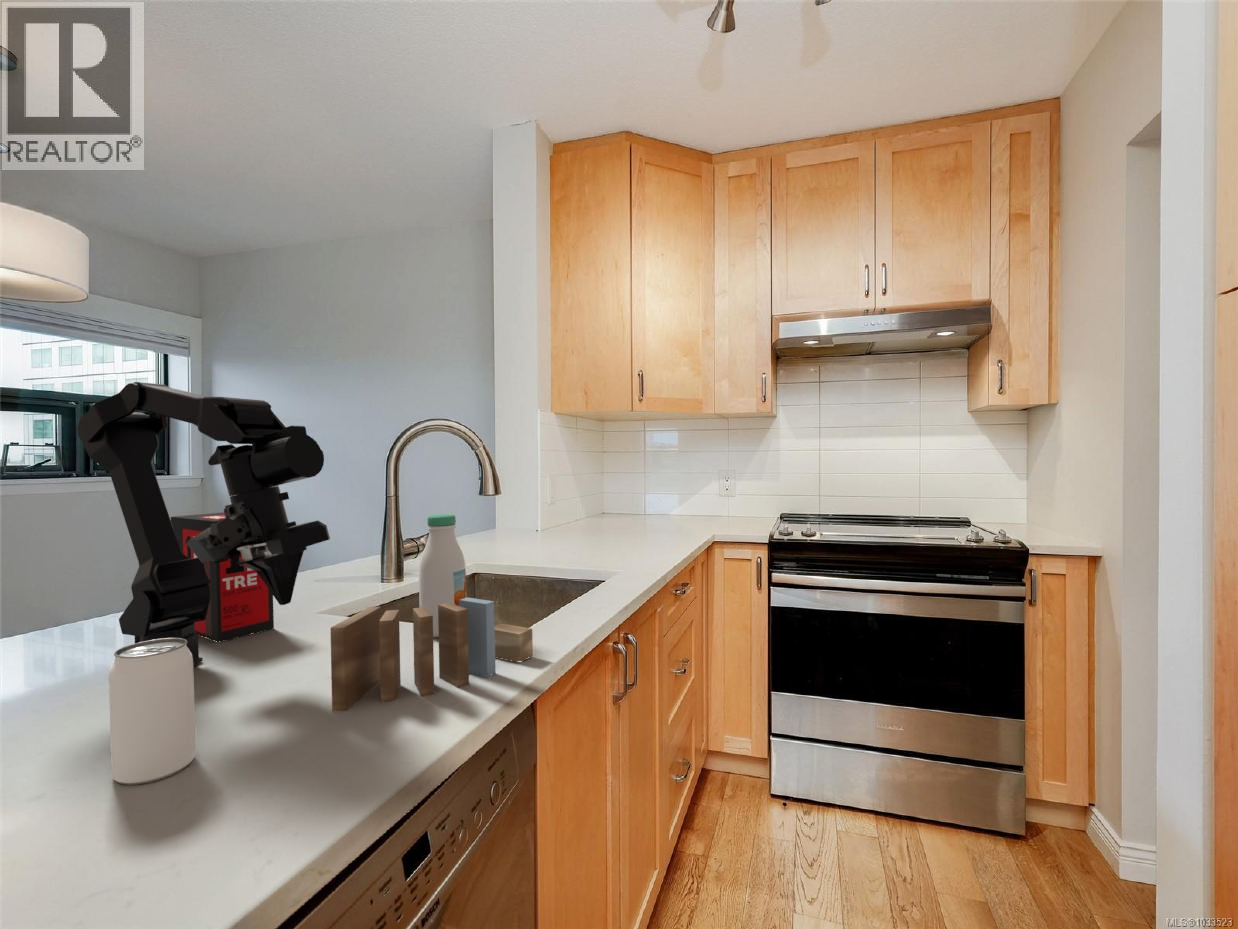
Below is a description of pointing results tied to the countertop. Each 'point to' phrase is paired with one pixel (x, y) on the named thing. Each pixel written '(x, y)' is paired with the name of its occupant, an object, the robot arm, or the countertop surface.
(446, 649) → the domino
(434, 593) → the milk bottle
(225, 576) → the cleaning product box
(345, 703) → the domino
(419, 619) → the domino
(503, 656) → the block
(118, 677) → the can
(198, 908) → the countertop surface
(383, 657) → the domino
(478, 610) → the domino
